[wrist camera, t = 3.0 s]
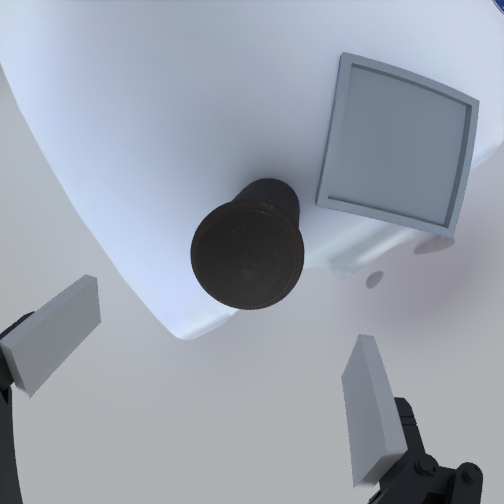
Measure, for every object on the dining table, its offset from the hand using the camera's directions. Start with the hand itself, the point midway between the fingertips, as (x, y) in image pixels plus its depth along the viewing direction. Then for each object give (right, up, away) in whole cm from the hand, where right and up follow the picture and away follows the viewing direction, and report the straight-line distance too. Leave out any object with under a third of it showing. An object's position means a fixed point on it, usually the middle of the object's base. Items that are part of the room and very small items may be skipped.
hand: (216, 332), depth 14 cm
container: (+4, +10, +27) cm, 29 cm away
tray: (+21, +18, +21) cm, 35 cm away
